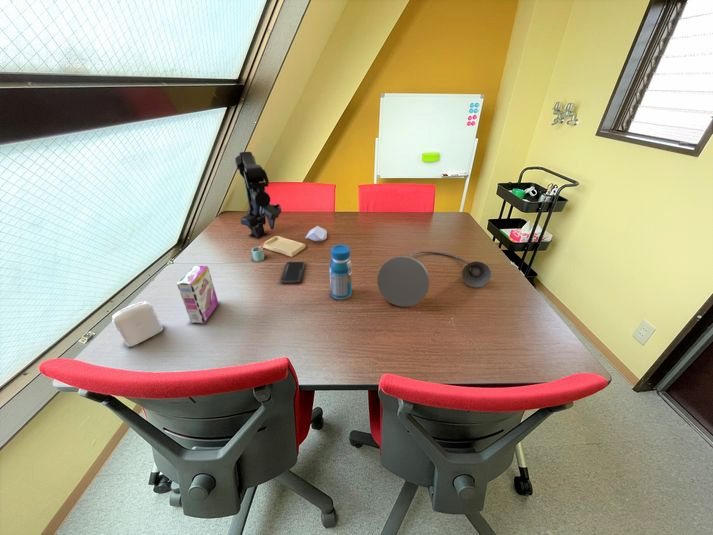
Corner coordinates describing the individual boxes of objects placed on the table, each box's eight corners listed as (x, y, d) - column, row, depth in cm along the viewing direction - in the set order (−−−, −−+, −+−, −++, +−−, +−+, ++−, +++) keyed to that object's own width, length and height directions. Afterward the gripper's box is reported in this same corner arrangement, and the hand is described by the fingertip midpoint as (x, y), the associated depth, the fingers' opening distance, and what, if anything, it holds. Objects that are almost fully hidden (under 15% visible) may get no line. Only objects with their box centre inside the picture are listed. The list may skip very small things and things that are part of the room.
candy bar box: (205, 324, 97) (191, 284, 88) (191, 323, 97) (175, 284, 88) (219, 302, 107) (208, 265, 98) (206, 302, 107) (193, 264, 98)
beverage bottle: (335, 302, 108) (334, 256, 97) (327, 290, 114) (324, 246, 103) (355, 296, 111) (356, 251, 100) (346, 285, 117) (346, 241, 106)
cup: (251, 259, 133) (249, 250, 130) (258, 254, 137) (257, 245, 134) (259, 262, 131) (257, 252, 128) (266, 257, 135) (265, 248, 132)
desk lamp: (489, 327, 97) (374, 300, 108) (480, 287, 138) (397, 270, 149) (503, 275, 91) (380, 252, 103) (489, 249, 133) (403, 235, 144)
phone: (280, 281, 117) (287, 261, 129) (281, 283, 117) (287, 264, 130) (300, 281, 117) (304, 261, 129) (300, 283, 117) (305, 264, 130)
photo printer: (129, 349, 88) (111, 319, 81) (124, 342, 90) (106, 312, 83) (165, 330, 94) (151, 301, 88) (160, 324, 97) (146, 295, 90)
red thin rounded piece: (254, 256, 134) (251, 238, 129) (256, 256, 135) (252, 237, 129) (266, 261, 131) (263, 242, 126) (268, 260, 132) (265, 241, 127)
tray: (262, 247, 143) (261, 243, 142) (276, 239, 151) (276, 235, 150) (291, 256, 135) (291, 253, 134) (305, 247, 143) (305, 243, 142)
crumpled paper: (322, 245, 146) (328, 234, 156) (322, 233, 142) (328, 222, 153) (305, 244, 146) (312, 233, 157) (304, 232, 143) (311, 221, 154)
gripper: (257, 209, 108) (263, 246, 117) (289, 195, 122) (292, 229, 131) (235, 204, 113) (243, 240, 121) (268, 191, 127) (273, 224, 135)
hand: (264, 233), depth 127 cm, fingers open, 9 cm apart
